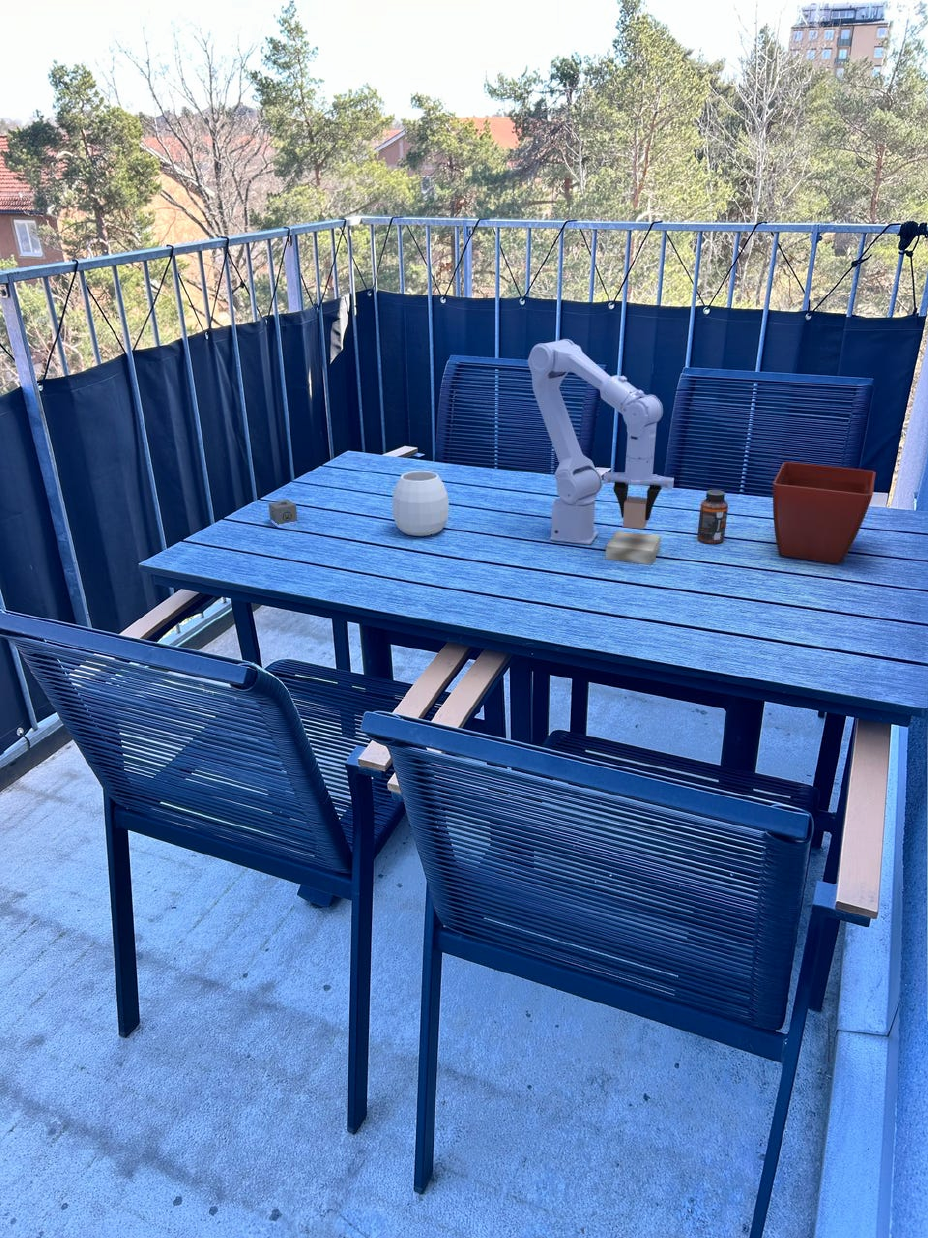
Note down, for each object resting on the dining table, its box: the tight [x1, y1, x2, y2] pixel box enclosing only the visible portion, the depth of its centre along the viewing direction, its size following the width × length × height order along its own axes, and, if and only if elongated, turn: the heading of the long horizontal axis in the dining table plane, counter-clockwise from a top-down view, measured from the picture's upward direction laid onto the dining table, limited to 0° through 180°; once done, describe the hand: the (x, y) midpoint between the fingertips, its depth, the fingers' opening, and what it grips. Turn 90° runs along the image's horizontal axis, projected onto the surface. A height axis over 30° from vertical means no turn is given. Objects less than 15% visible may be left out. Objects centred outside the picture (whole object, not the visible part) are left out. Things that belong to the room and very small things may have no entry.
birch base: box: [605, 530, 662, 565], centre depth 194 cm, size 10×10×3 cm
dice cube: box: [268, 499, 299, 525], centre depth 215 cm, size 5×5×5 cm
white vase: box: [391, 470, 450, 537], centre depth 207 cm, size 13×13×14 cm
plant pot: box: [772, 461, 877, 565], centre depth 191 cm, size 19×19×17 cm
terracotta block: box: [622, 495, 649, 530], centre depth 191 cm, size 4×4×6 cm
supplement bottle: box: [697, 489, 729, 545], centre depth 199 cm, size 6×6×11 cm
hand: (635, 517), depth 191 cm, fingers closed on terracotta block, 4 cm apart
